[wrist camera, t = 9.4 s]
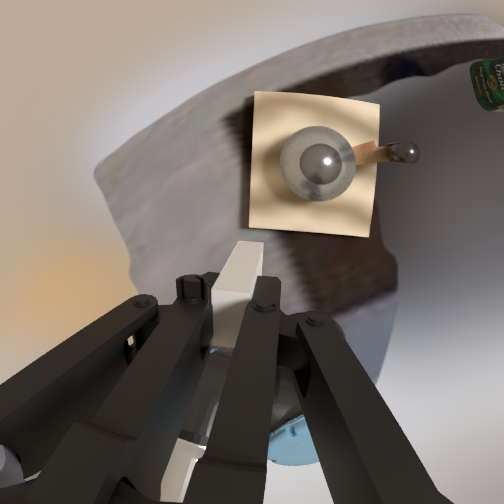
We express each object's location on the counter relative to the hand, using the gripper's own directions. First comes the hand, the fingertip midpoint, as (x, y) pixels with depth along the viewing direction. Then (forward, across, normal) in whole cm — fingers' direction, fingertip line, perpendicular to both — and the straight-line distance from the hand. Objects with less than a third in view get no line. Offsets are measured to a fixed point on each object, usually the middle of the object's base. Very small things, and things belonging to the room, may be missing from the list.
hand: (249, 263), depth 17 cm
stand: (+26, +6, +6) cm, 28 cm away
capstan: (+24, +10, +7) cm, 27 cm away
